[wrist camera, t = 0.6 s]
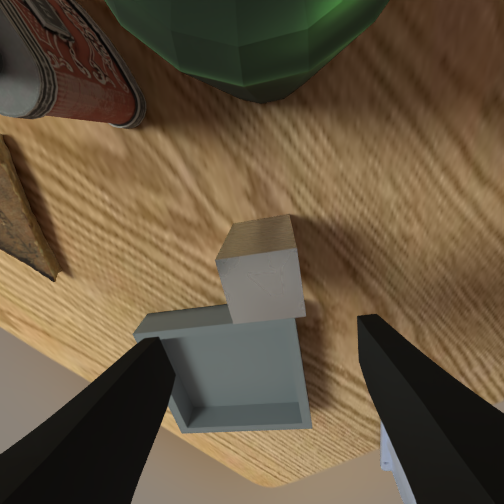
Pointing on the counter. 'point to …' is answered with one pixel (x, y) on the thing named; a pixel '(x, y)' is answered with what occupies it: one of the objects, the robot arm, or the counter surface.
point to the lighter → (63, 66)
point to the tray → (231, 371)
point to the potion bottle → (248, 38)
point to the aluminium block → (261, 271)
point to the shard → (21, 222)
